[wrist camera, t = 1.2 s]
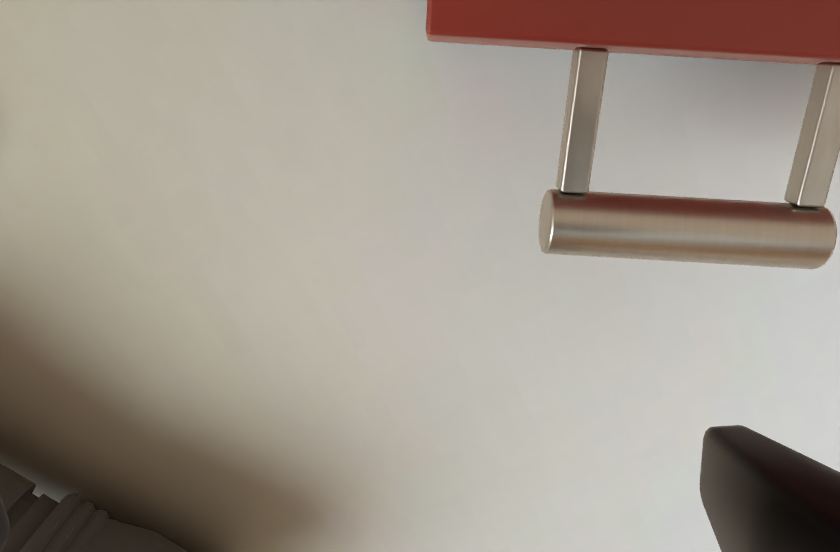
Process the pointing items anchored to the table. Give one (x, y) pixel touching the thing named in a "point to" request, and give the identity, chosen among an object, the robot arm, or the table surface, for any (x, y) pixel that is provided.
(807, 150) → the drawer
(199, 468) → the table surface
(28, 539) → the flashlight
